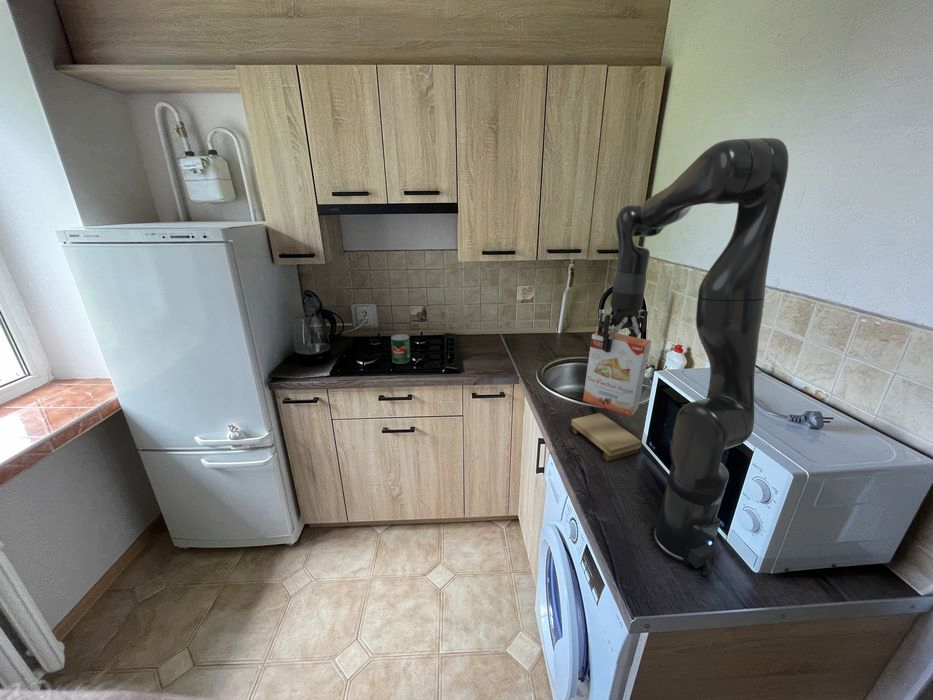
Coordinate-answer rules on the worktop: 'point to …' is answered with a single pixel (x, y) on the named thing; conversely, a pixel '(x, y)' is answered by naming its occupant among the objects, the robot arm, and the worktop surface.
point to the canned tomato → (400, 348)
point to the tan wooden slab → (607, 436)
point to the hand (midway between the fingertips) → (618, 349)
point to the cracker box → (616, 373)
